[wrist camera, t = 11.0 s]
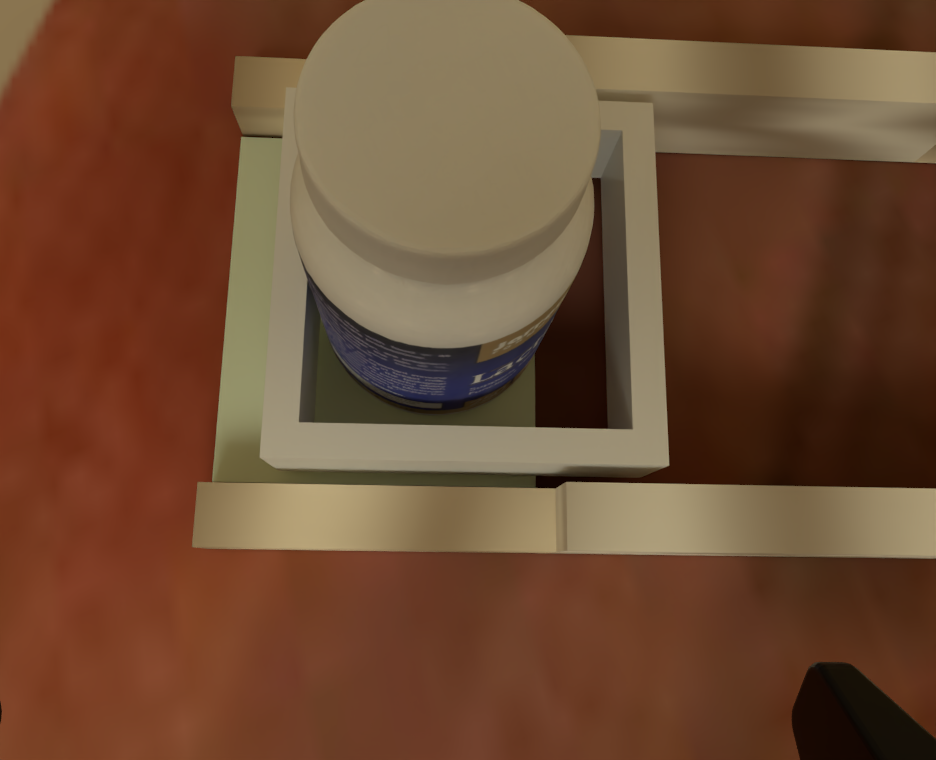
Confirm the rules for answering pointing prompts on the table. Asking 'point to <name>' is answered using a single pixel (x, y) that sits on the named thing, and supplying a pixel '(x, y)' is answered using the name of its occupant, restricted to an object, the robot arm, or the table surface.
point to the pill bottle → (442, 192)
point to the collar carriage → (487, 447)
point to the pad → (334, 386)
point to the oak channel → (636, 504)
